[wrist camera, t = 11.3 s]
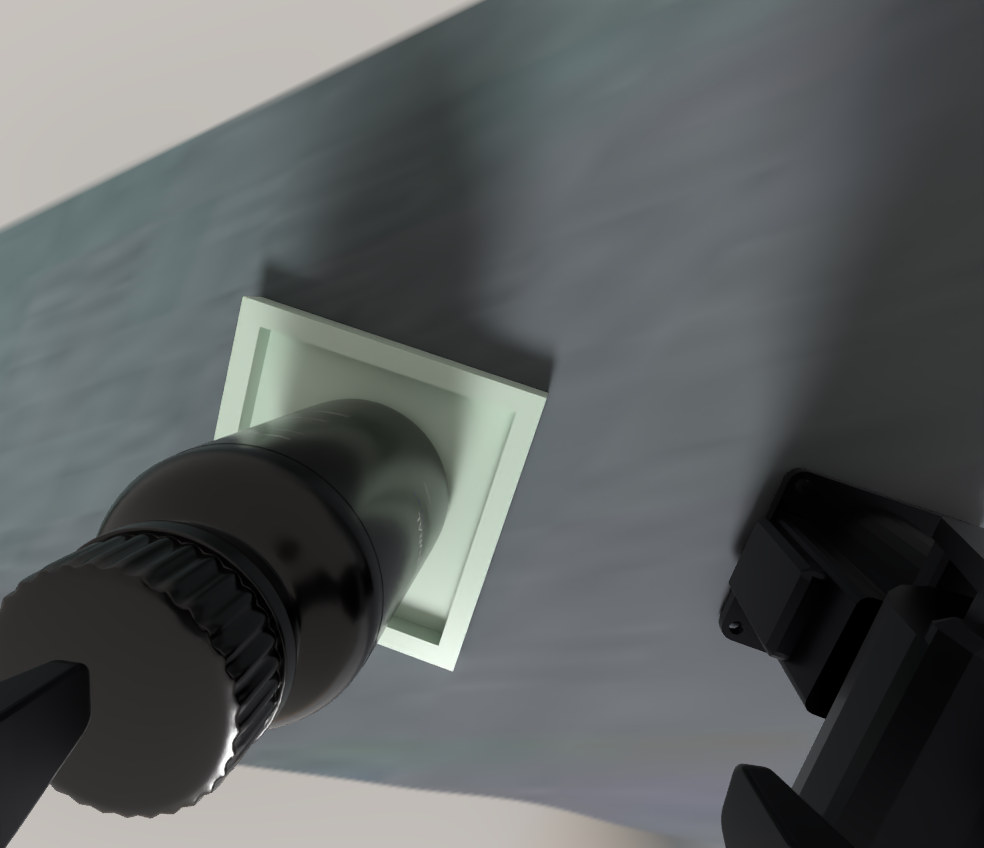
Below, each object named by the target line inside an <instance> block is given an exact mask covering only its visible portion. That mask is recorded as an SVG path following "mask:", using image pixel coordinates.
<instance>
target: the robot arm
mask: <svg viewBox="0 0 984 848" xmlns="http://www.w3.org/2000/svg"><path fill="white" fill-rule="evenodd" d="M800 479H806V480H807V485H806V486H805V487H804V488H803V489H801V490H796V488H795V485H796V483H797V481H798V480H800ZM729 585H730V587H731V589H732V591H731V593H730V596H729V598H728V600H727V602H726V604H725V606H724V609H723V611H722V613H721V615H720V618H719V626H720V628H721V631H722V633H723V634H724V635H725V637H727V638H728V639H730V640H732V641H735V642H738V643H741V644H744V645H746V646H749V647H752V648H755V649H758V650H760V651H763V652H766V653H767V654H768V655H769V656H771V657H774V658H777V659H778V661H779V663H780V664H781V666H782V668H783V669H784V671H785V673H786V675H787V676H788V678H789V680H790V682H791V683H792V685H793V687H794V688H795V690H796V692H797V694H798V695H799V697H800V699H801V700H802V702H803V704H804V706H805V707H806V709H807V711H809V712H810V713H812V714H814V715H816V716H819V717H822V718H825V721H824V723H823V725H822V728H821V730H820V732H819V734H818V736H817V738H816V740H815V742H814V744H813V746H812V748H811V750H810V752H809V754H808V756H807V758H806V760H805V762H804V764H803V766H802V768H801V770H800V772H799V774H798V776H797V779H796V781H795V783H794V785H793V787H792V789H791V788H790V787H789V786H788V785H787V784H786V783H785V782H784V781H783V780H782V779H781V778H780V777H779V776H778V775H776V774H775V773H774V772H773V771H772V770H770V769H769V768H766V767H762V766H755V765H749V764H739V765H737V766H736V768H735V769H734V771H733V774H732V778H731V781H730V785H729V788H728V791H727V795H726V798H725V802H724V805H723V809H722V815H721V825H722V832H723V837H724V842H725V847H726V848H984V528H980V527H977V526H974V525H971V524H969V523H966V522H963V521H960V520H957V519H954V518H951V517H948V516H945V515H942V514H939V513H936V512H933V511H930V510H927V509H924V508H921V507H918V506H915V505H912V504H909V503H906V502H903V501H900V500H897V499H894V498H891V497H888V496H885V495H882V494H879V493H876V492H873V491H870V490H867V489H864V488H861V487H858V486H855V485H852V484H849V483H846V482H843V481H840V480H837V479H834V478H831V477H828V476H825V475H822V474H819V473H816V472H813V471H810V470H807V469H802V468H797V469H793V470H791V471H790V472H788V473H787V474H786V476H785V477H784V479H783V481H782V483H781V485H780V488H779V490H778V492H777V494H776V496H775V498H774V501H773V503H772V505H771V507H770V509H769V511H768V513H767V516H766V518H763V519H761V520H759V521H757V522H756V524H755V526H754V528H753V530H752V533H751V535H750V537H749V539H748V541H747V544H746V546H745V548H744V550H743V552H742V554H741V557H740V559H739V561H738V563H737V565H736V567H735V570H734V572H733V574H732V576H731V578H730V581H729ZM734 621H738V622H741V623H740V625H739V626H738V627H737V628H730V627H729V625H730V624H731V623H732V622H734ZM90 716H91V695H90V673H89V669H88V667H87V666H86V665H85V664H83V663H78V662H72V661H65V660H53V661H50V662H47V663H45V664H42V665H40V666H37V667H35V668H32V669H30V670H27V671H25V672H22V673H20V674H17V675H15V676H12V677H10V678H7V679H4V680H2V681H0V848H6V846H7V845H8V843H9V842H10V841H11V839H12V838H13V836H14V835H15V834H16V832H17V831H18V829H19V827H20V826H21V825H22V824H23V822H24V821H25V819H26V818H27V816H28V815H29V813H30V812H31V810H32V809H33V807H34V806H35V804H36V803H37V801H38V800H39V799H40V797H41V796H42V794H43V793H44V791H45V790H46V788H47V787H48V785H49V784H50V782H51V781H52V779H53V778H54V777H55V775H56V774H57V772H58V771H59V769H60V768H61V766H62V765H63V763H64V762H65V760H66V759H67V757H68V756H69V755H70V753H71V752H72V750H73V749H74V747H75V746H76V744H77V743H78V741H79V740H80V738H81V737H82V735H83V734H84V732H85V730H86V728H87V726H88V724H89V721H90Z"/></svg>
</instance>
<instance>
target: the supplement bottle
mask: <svg viewBox="0 0 984 848" xmlns="http://www.w3.org/2000/svg"><path fill="white" fill-rule="evenodd" d="M447 509H448V483H447V478H446V474H445V470H444V467H443V464H442V461H441V459H440V457H439V455H438V453H437V451H436V449H435V447H434V446H433V444H432V442H431V441H430V440H429V438H428V437H427V436H426V434H425V433H424V432H423V431H422V430H421V429H420V428H419V427H418V426H417V425H416V424H415V423H414V422H413V421H411V420H410V419H409V418H407V417H406V416H404V415H403V414H401V413H400V412H398V411H396V410H394V409H392V408H390V407H388V406H385V405H383V404H380V403H377V402H373V401H369V400H363V399H339V400H332V401H328V402H324V403H320V404H317V405H314V406H310V407H307V408H305V409H302V410H299V411H296V412H293V413H290V414H288V415H285V416H282V417H279V418H276V419H273V420H271V421H268V422H265V423H262V424H259V425H256V426H253V427H251V428H248V429H245V430H242V431H239V432H236V433H234V434H231V435H228V436H225V437H222V438H219V439H217V440H214V441H211V442H208V443H205V444H202V445H200V446H197V447H194V448H191V449H189V450H186V451H183V452H181V453H178V454H176V455H174V456H171V457H169V458H167V459H165V460H163V461H161V462H159V463H157V464H155V465H153V466H152V467H150V468H149V469H147V470H146V471H144V472H143V473H142V474H141V475H139V476H138V477H137V478H136V479H135V480H133V481H132V482H131V483H130V484H129V485H128V486H127V487H126V488H125V489H124V491H123V492H122V493H121V494H120V495H119V497H118V498H117V499H116V501H115V502H114V503H113V505H112V506H111V508H110V509H109V511H108V513H107V515H106V516H105V518H104V520H103V522H102V524H101V526H100V529H99V531H98V533H97V536H96V538H94V539H93V540H91V541H89V542H88V543H86V544H84V545H83V546H82V547H80V548H79V549H78V550H77V551H75V552H74V553H72V554H70V555H67V556H65V557H63V558H61V559H59V560H57V561H55V562H53V563H51V564H49V565H47V566H46V567H44V568H43V569H42V570H40V571H38V572H36V573H34V574H32V575H30V576H28V577H27V578H25V579H24V580H22V581H21V582H20V583H19V584H18V586H17V588H16V590H15V591H13V592H11V593H10V594H8V595H7V596H6V597H4V598H3V601H2V604H1V609H0V681H2V680H4V679H7V678H10V677H12V676H15V675H17V674H20V673H22V672H25V671H27V670H30V669H32V668H35V667H37V666H40V665H42V664H45V663H47V662H50V661H53V660H65V661H72V662H78V663H83V664H85V665H86V666H87V667H88V669H89V673H90V695H91V716H90V721H89V724H88V726H87V728H86V730H85V732H84V734H83V735H82V737H81V738H80V740H79V741H78V743H77V744H76V746H75V747H74V749H73V750H72V752H71V753H70V755H69V756H68V757H67V759H66V760H65V762H64V763H63V765H62V766H61V768H60V769H59V771H58V772H57V774H56V775H55V777H54V778H53V779H52V781H51V782H50V784H51V785H52V787H53V788H54V789H55V790H56V791H58V792H61V793H64V794H66V795H69V796H70V797H71V798H72V799H74V800H75V801H76V802H77V803H79V804H82V805H88V806H92V807H94V808H95V809H97V810H99V811H100V812H102V813H116V814H119V815H121V816H124V817H127V818H129V817H134V816H137V815H139V816H143V817H147V818H153V817H155V816H157V815H159V814H174V813H176V812H177V811H178V810H179V809H180V808H182V807H188V806H194V805H195V804H197V803H198V802H199V801H200V800H201V799H202V798H203V796H204V795H207V794H209V793H212V792H213V791H214V790H215V789H216V788H217V787H218V786H219V785H220V784H221V783H222V781H223V780H224V779H225V778H226V776H227V775H228V774H229V772H231V771H232V770H233V769H234V767H235V766H236V765H237V764H238V762H239V761H240V760H241V758H242V757H243V756H244V754H245V753H246V752H247V750H248V749H249V748H250V746H251V745H252V744H253V743H254V742H256V741H257V740H258V739H259V738H260V737H261V736H262V735H263V734H264V732H265V731H266V730H268V729H273V728H277V727H281V726H285V725H288V724H291V723H294V722H296V721H299V720H301V719H304V718H306V717H308V716H310V715H312V714H314V713H315V712H317V711H319V710H320V709H322V708H323V707H325V706H326V705H328V704H329V703H330V702H332V701H333V700H334V699H335V698H336V697H338V696H339V695H340V694H341V693H342V692H343V691H344V690H345V689H346V688H347V687H348V686H349V685H350V683H351V682H352V681H353V679H354V678H355V677H356V675H357V674H358V673H359V671H360V670H361V668H362V667H363V666H364V664H365V662H366V661H367V659H368V658H369V656H370V654H371V653H372V651H373V649H374V647H375V646H376V644H377V642H378V641H379V639H380V637H381V636H382V634H383V632H384V631H385V629H386V627H387V625H388V624H389V622H390V620H391V619H392V617H393V615H394V614H395V612H396V610H397V608H398V607H399V605H400V603H401V602H402V600H403V598H404V597H405V595H406V593H407V591H408V590H409V588H410V586H411V585H412V583H413V581H414V580H415V578H416V576H417V574H418V573H419V571H420V569H421V568H422V566H423V564H424V563H425V561H426V559H427V557H428V556H429V554H430V552H431V551H432V549H433V547H434V545H435V543H436V541H437V540H438V537H439V535H440V533H441V531H442V528H443V525H444V522H445V519H446V515H447Z"/></svg>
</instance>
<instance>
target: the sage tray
mask: <svg viewBox="0 0 984 848" xmlns="http://www.w3.org/2000/svg"><path fill="white" fill-rule="evenodd" d="M547 395H548V393H547V392H544V391H541V390H538V389H535V388H532V387H529V386H526V385H523V384H520V383H517V382H514V381H511V380H508V379H505V378H502V377H499V376H496V375H493V374H490V373H487V372H484V371H481V370H478V369H476V368H473V367H470V366H467V365H464V364H461V363H458V362H455V361H452V360H449V359H446V358H443V357H440V356H437V355H434V354H431V353H428V352H425V351H422V350H419V349H416V348H413V347H410V346H407V345H404V344H401V343H398V342H395V341H392V340H389V339H386V338H383V337H380V336H377V335H374V334H371V333H368V332H365V331H362V330H359V329H356V328H353V327H350V326H347V325H344V324H341V323H338V322H335V321H332V320H329V319H326V318H323V317H320V316H317V315H314V314H311V313H308V312H305V311H302V310H299V309H296V308H293V307H290V306H287V305H284V304H281V303H278V302H276V301H273V300H270V299H267V298H264V297H248V296H243V299H242V304H241V309H240V314H239V319H238V324H237V329H236V334H235V339H234V343H233V348H232V353H231V358H230V363H229V368H228V373H227V378H226V383H225V388H224V393H223V398H222V403H221V407H220V412H219V417H218V422H217V427H216V432H215V437H214V440H217V439H219V438H222V437H225V436H228V435H231V434H234V433H236V432H239V431H242V430H245V429H248V428H251V427H253V426H256V425H259V424H262V423H265V422H268V421H271V420H273V419H276V418H279V417H282V416H285V415H288V414H290V413H293V412H296V411H299V410H302V409H305V408H307V407H310V406H314V405H317V404H320V403H324V402H328V401H332V400H339V399H363V400H369V401H373V402H377V403H380V404H383V405H385V406H388V407H390V408H392V409H394V410H396V411H398V412H400V413H401V414H403V415H404V416H406V417H407V418H409V419H410V420H411V421H413V422H414V423H415V424H416V425H417V426H418V427H419V428H420V429H421V430H422V431H423V432H424V433H425V434H426V436H427V437H428V438H429V440H430V441H431V442H432V444H433V446H434V447H435V449H436V451H437V453H438V455H439V457H440V459H441V461H442V464H443V467H444V470H445V474H446V478H447V483H448V509H447V515H446V519H445V522H444V525H443V528H442V531H441V533H440V535H439V537H438V540H437V541H436V543H435V545H434V547H433V549H432V551H431V552H430V554H429V556H428V557H427V559H426V561H425V563H424V564H423V566H422V568H421V569H420V571H419V573H418V574H417V576H416V578H415V580H414V581H413V583H412V585H411V586H410V588H409V590H408V591H407V593H406V595H405V597H404V598H403V600H402V602H401V603H400V605H399V607H398V608H397V610H396V612H395V614H394V615H393V617H392V619H391V620H390V622H389V624H388V625H387V627H386V629H385V631H384V632H383V634H382V636H381V637H380V639H379V641H378V642H377V644H380V645H383V646H386V647H388V648H391V649H394V650H396V651H399V652H402V653H404V654H407V655H410V656H412V657H415V658H418V659H420V660H423V661H426V662H429V663H431V664H434V665H437V666H439V667H442V668H445V669H447V670H450V671H453V669H454V666H455V664H456V661H457V658H458V655H459V652H460V649H461V646H462V643H463V640H464V637H465V634H466V632H467V629H468V626H469V623H470V620H471V617H472V614H473V611H474V608H475V605H476V602H477V600H478V597H479V594H480V591H481V588H482V585H483V582H484V579H485V576H486V573H487V570H488V568H489V565H490V562H491V559H492V556H493V553H494V550H495V547H496V544H497V541H498V538H499V536H500V533H501V530H502V527H503V524H504V521H505V518H506V515H507V512H508V509H509V506H510V504H511V501H512V498H513V495H514V492H515V489H516V486H517V483H518V480H519V477H520V474H521V472H522V469H523V466H524V463H525V460H526V457H527V454H528V451H529V448H530V445H531V442H532V440H533V437H534V434H535V431H536V428H537V425H538V422H539V419H540V416H541V413H542V410H543V408H544V405H545V402H546V399H547Z"/></svg>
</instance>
